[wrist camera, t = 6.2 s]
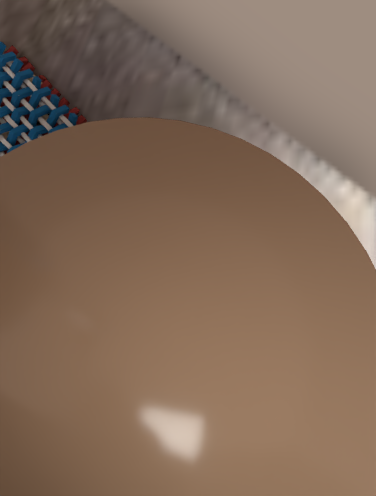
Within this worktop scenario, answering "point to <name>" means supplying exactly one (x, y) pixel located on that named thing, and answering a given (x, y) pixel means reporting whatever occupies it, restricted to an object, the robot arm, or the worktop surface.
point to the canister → (179, 320)
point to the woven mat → (28, 103)
